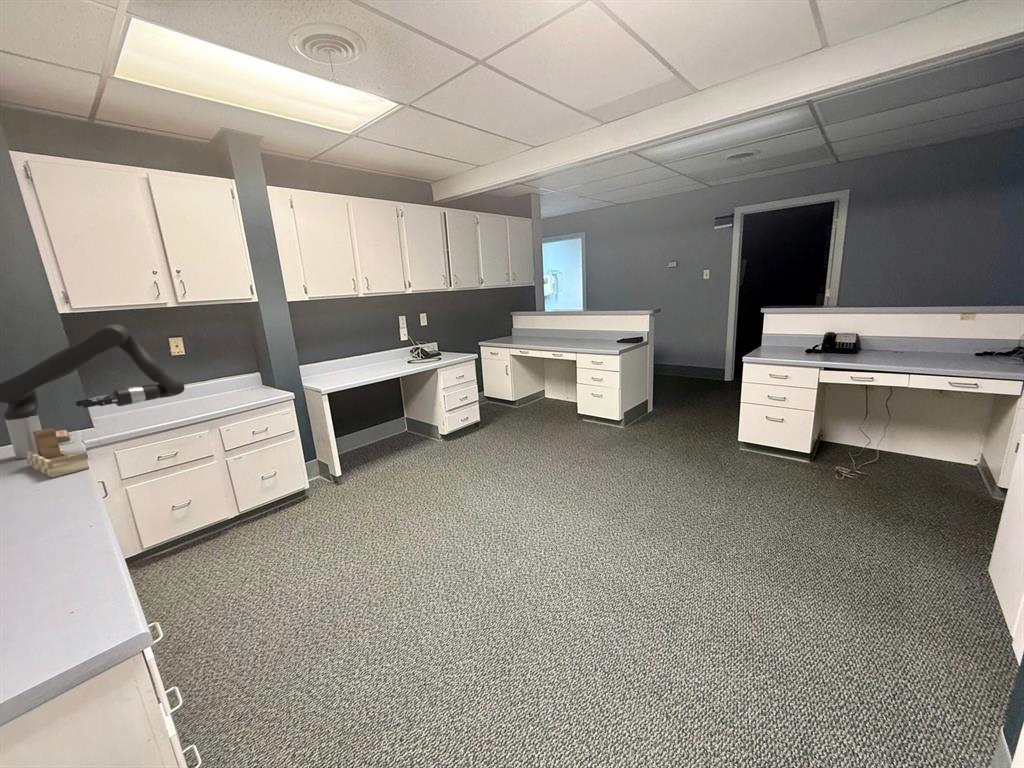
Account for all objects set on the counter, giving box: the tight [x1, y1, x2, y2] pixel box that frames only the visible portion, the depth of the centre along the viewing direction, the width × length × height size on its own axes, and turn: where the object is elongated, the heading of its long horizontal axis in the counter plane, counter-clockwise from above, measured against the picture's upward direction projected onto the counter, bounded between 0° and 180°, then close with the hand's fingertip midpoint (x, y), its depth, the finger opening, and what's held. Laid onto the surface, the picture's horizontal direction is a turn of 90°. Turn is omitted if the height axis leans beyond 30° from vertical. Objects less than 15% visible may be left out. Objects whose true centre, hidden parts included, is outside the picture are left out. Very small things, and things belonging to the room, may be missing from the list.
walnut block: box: [33, 427, 61, 459], centre depth 166 cm, size 5×5×14 cm
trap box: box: [26, 450, 90, 479], centre depth 163 cm, size 28×10×6 cm, turn 60°
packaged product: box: [55, 429, 75, 446], centre depth 200 cm, size 18×5×10 cm
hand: (79, 404), depth 173 cm, fingers open, 8 cm apart
